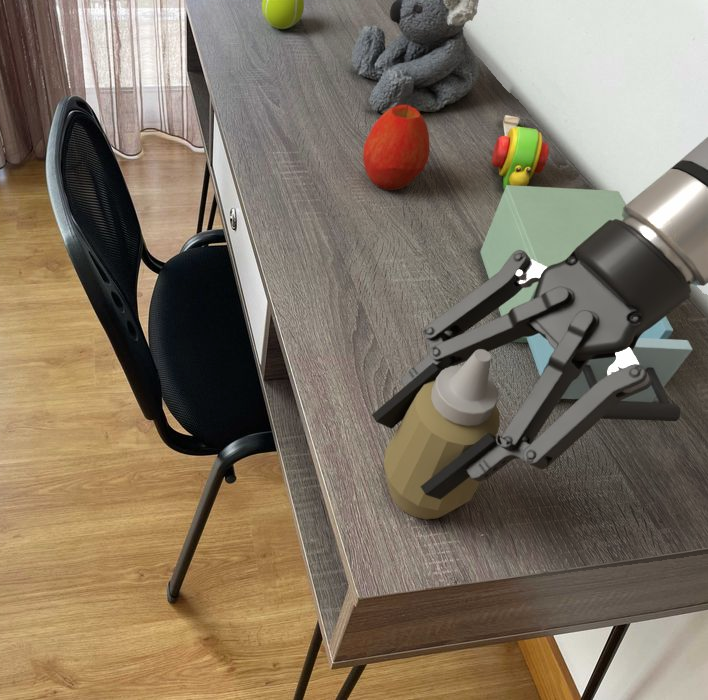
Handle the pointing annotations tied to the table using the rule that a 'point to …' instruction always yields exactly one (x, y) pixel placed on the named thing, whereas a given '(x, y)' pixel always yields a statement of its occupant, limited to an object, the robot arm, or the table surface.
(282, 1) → the tennis ball
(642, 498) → the table surface
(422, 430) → the squeeze bottle
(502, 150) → the toy measuring tape
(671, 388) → the table surface
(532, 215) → the cabinet
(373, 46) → the koala plush
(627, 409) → the drawer
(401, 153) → the red egg-shaped piece
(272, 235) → the table surface
